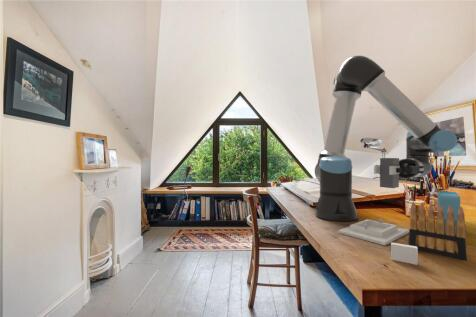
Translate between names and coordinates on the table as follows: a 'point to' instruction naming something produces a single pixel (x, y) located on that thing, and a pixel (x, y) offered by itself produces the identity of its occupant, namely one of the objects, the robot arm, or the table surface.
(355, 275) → the table surface
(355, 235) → the dock tray
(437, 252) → the ammunition clip
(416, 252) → the eraser
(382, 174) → the grey upright block
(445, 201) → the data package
